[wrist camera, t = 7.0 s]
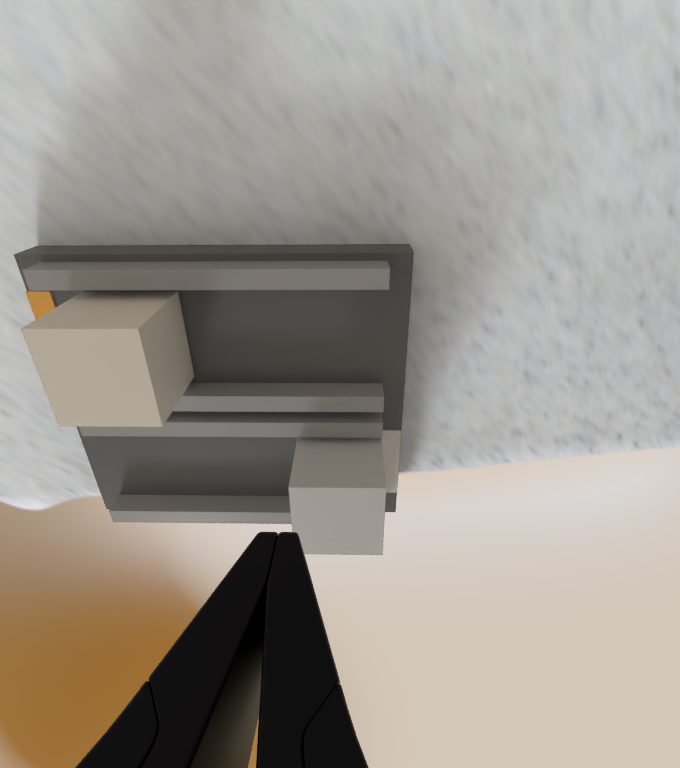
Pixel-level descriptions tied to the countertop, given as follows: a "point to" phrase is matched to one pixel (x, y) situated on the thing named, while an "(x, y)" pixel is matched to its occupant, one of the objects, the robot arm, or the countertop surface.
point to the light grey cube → (338, 495)
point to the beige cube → (112, 358)
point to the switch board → (247, 368)
